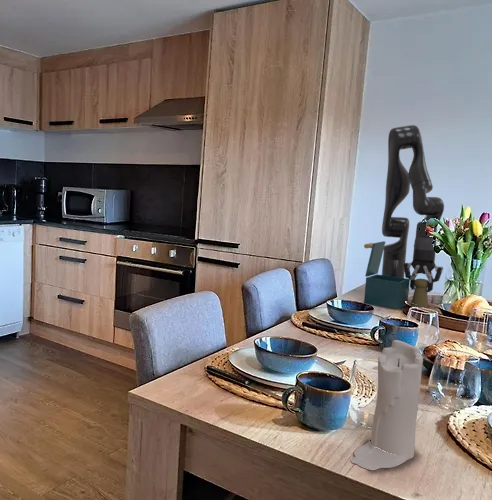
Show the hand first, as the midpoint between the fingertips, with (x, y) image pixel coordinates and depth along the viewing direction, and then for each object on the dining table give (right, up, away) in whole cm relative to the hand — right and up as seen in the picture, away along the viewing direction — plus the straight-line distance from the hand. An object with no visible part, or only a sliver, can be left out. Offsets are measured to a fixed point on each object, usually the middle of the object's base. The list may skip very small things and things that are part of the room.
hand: (420, 290), depth 200 cm
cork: (0, -7, +1) cm, 7 cm away
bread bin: (-12, -6, +3) cm, 14 cm away
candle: (-67, -21, -109) cm, 130 cm away
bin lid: (-16, +12, +4) cm, 20 cm away
